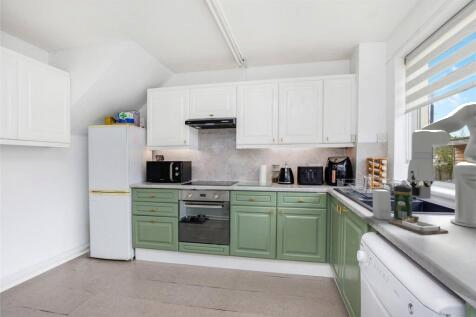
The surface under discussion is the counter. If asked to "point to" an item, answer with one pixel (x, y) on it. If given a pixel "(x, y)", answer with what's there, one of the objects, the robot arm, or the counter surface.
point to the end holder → (427, 225)
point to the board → (413, 220)
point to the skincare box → (381, 204)
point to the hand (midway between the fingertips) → (420, 195)
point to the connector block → (423, 192)
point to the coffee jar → (402, 201)
